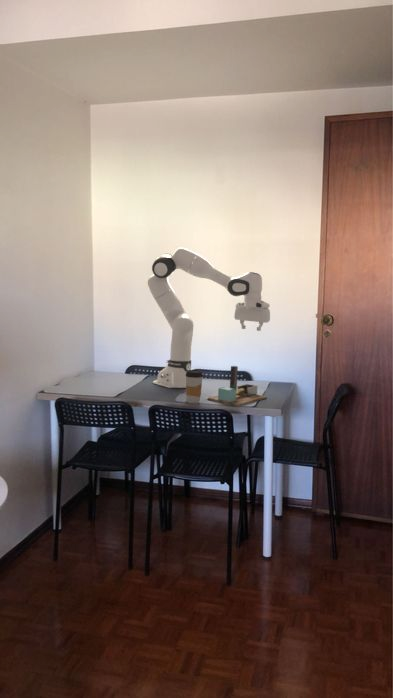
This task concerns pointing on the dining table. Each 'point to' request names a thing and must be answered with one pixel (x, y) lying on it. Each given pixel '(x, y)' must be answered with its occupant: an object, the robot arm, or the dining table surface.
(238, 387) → the sleeve
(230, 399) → the mint green block
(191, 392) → the coffee cup
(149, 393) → the dining table surface
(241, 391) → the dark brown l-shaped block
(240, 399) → the board
